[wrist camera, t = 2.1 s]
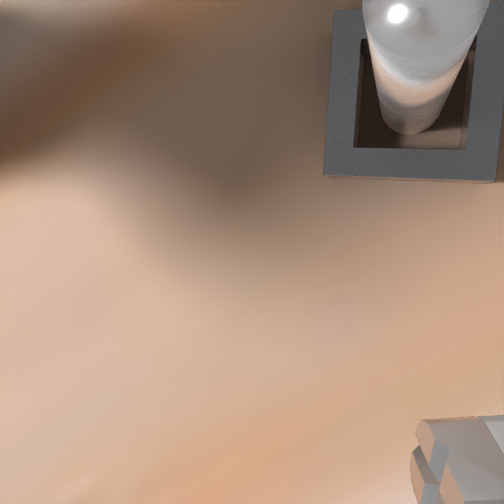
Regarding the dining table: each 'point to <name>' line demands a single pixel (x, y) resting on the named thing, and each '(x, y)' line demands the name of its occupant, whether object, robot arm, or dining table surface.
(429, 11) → the rod
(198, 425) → the dining table surface
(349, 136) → the socket block
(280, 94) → the dining table surface
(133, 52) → the dining table surface
